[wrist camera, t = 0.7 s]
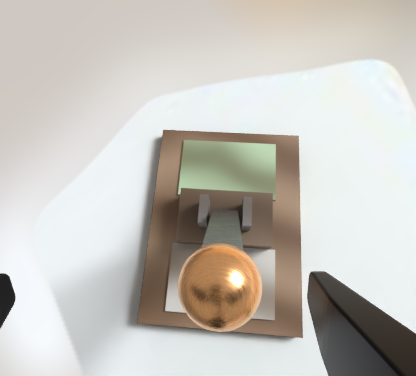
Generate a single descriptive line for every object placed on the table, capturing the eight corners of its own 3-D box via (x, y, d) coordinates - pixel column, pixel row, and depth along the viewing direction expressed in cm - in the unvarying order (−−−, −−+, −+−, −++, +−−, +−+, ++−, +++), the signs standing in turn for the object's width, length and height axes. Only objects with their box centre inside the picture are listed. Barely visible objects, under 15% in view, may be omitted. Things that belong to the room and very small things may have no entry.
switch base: (299, 335, 22) (320, 349, 17) (140, 321, 23) (119, 331, 18) (295, 141, 27) (311, 110, 22) (165, 135, 28) (153, 104, 23)
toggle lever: (244, 239, 22) (263, 356, 9) (203, 236, 22) (168, 347, 9) (246, 198, 21) (270, 263, 9) (205, 196, 21) (171, 257, 9)
